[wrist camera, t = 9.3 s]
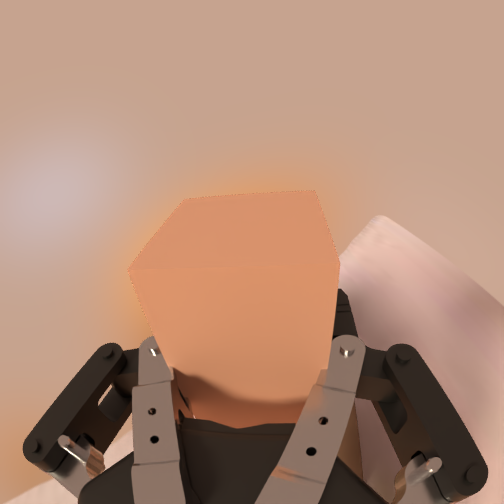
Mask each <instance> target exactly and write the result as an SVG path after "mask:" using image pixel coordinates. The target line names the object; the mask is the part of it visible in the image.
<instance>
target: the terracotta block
mask: <svg viewBox="0 0 504 504" xmlns="http://www.w3.org/2000/svg"><path fill="white" fill-rule="evenodd" d="M339 269H340V261H339V258H338V255H337V252H336V249H335V246H334V244H333V240H332V237H331V234H330V231H329V228H328V225H327V223H326V220H325V217H324V214H323V211H322V209H321V206H320V203H319V200H318V198H317V195H316V192H315V191H292V192H270V193H253V194H238V195H225V196H213V197H201V198H190V199H184V200H183V201H182V203H181V204H180V205H179V206H178V207H177V208H176V209H175V211H174V212H173V213H172V214H171V215H170V217H169V218H168V219H167V220H166V221H165V223H164V224H163V225H162V226H161V227H160V229H159V230H158V231H157V232H156V233H155V235H154V236H153V237H152V238H151V240H150V241H149V242H148V243H147V245H146V246H145V247H144V248H143V250H142V251H141V252H140V254H139V255H138V256H137V257H136V259H135V260H134V261H133V263H132V264H131V265H130V267H129V268H128V273H129V276H130V278H131V281H132V284H133V287H134V289H135V292H136V294H137V297H138V299H139V302H140V304H141V307H142V309H143V312H144V314H145V317H146V319H147V321H148V324H149V326H150V328H151V331H152V333H153V335H154V338H155V340H156V342H157V344H158V346H159V349H160V351H161V353H162V355H163V357H164V359H165V361H166V363H167V365H168V366H171V367H173V369H174V371H175V373H176V375H177V384H178V387H179V389H180V391H181V393H182V395H183V397H187V398H188V399H189V400H190V402H191V406H192V412H193V415H194V416H195V418H196V419H202V420H211V421H214V422H217V423H220V424H223V425H226V426H229V427H233V428H245V427H251V426H256V425H261V424H266V423H296V424H297V422H298V419H299V417H300V415H301V412H302V410H303V408H304V405H305V403H306V400H307V398H308V396H309V393H310V391H311V388H312V386H313V385H314V384H316V382H317V379H318V376H319V374H320V371H321V369H328V363H329V356H330V349H331V342H332V335H333V327H334V319H335V311H336V302H337V292H338V281H339Z"/></svg>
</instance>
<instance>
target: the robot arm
mask: <svg viewBox="0 0 504 504" xmlns="http://www.w3.org/2000/svg"><path fill="white" fill-rule="evenodd" d="M110 384H111V385H112V386H113V387H112V388H111V390H110V391H109V392H108V394H107V395H106V396H105V398H104V399H103V401H102V402H101V403H100V405H99V406H98V401H99V399H100V398H101V396H102V395H103V394H104V392H105V391H106V390H107V388H108V387H109V386H110ZM355 397H356V398H361V399H367V400H371V401H372V403H373V405H374V407H375V409H376V411H377V413H378V415H379V417H380V419H381V422H382V424H383V426H384V428H385V430H386V432H387V434H388V436H389V439H390V441H391V443H392V445H393V447H394V449H395V452H396V454H397V456H398V458H399V461H400V463H401V465H402V467H403V468H402V469H401V470H400V471H399V472H398V473H397V475H396V477H395V482H394V484H395V489H396V494H395V498H394V500H393V502H392V503H391V504H454V503H457V502H459V501H461V500H463V499H465V498H467V497H469V496H471V495H473V494H475V493H477V492H478V491H480V490H481V489H482V488H483V486H484V485H485V483H486V481H487V478H488V467H487V465H486V463H485V461H484V459H483V457H482V455H481V453H480V451H479V449H478V448H477V446H476V444H475V442H474V440H473V439H472V437H471V435H470V433H469V432H468V430H467V428H466V426H465V425H464V423H463V421H462V420H461V418H460V416H459V415H458V413H457V411H456V410H455V408H454V406H453V405H452V403H451V402H450V400H449V398H448V397H447V395H446V394H445V392H444V390H443V389H442V387H441V386H440V384H439V383H438V381H437V380H436V378H435V377H434V375H433V374H432V372H431V371H430V369H429V368H428V366H427V365H426V363H425V362H424V360H423V359H422V357H421V356H420V354H419V353H418V352H417V350H416V349H415V348H413V347H412V346H410V345H407V344H396V345H393V346H391V347H390V348H389V349H388V351H381V350H375V349H371V348H369V347H367V346H365V344H364V343H363V341H362V340H361V339H359V338H358V334H357V330H356V326H355V322H354V319H353V315H352V312H351V307H350V304H349V300H348V296H347V295H346V294H345V293H344V292H343V291H342V289H338V292H337V302H336V311H335V319H334V327H333V335H332V342H331V349H330V356H329V363H328V369H321V371H320V374H319V376H318V379H317V382H316V384H314V385H313V386H312V388H311V391H310V393H309V396H308V398H307V400H306V403H305V405H304V408H303V410H302V412H301V415H300V417H299V419H298V422H297V424H296V423H266V424H261V425H256V426H251V427H245V428H233V427H229V426H226V425H223V424H220V423H217V422H214V421H211V420H202V419H194V416H193V412H192V406H191V402H190V400H189V399H188V398H187V397H183V395H182V393H181V391H180V389H179V387H178V384H177V375H176V373H175V371H174V369H173V367H171V366H168V365H167V363H166V361H165V359H164V357H163V355H162V353H161V351H160V349H159V346H158V344H157V342H156V340H155V338H154V336H151V337H149V338H147V339H146V340H144V341H143V342H142V344H141V345H140V347H139V348H137V349H132V350H126V351H123V350H122V348H121V347H120V346H119V345H118V344H116V343H107V344H105V345H103V346H101V347H100V348H99V349H98V350H97V351H96V352H95V353H94V354H93V355H92V356H91V358H90V359H89V360H88V361H87V362H86V364H85V365H84V366H83V367H82V368H81V369H80V371H79V372H78V373H77V374H76V375H75V377H74V378H73V379H72V380H71V381H70V383H69V384H68V385H67V386H66V388H65V389H64V390H63V391H62V393H61V394H60V395H59V396H58V397H57V399H56V400H55V401H54V403H53V404H52V405H51V406H50V408H49V409H48V410H47V411H46V413H45V414H44V415H43V417H42V418H41V419H40V420H39V422H38V423H37V424H36V426H35V427H34V428H33V430H32V431H31V432H30V434H29V435H28V437H27V438H26V439H25V441H24V444H23V453H24V456H25V458H26V459H27V460H28V461H30V462H31V463H32V464H34V465H35V466H37V467H38V468H40V469H41V470H42V471H44V472H45V473H47V474H48V475H50V476H52V477H53V478H55V479H56V480H57V481H58V482H59V483H60V484H61V485H63V486H64V487H65V488H66V489H67V490H68V491H70V492H71V493H72V494H73V495H74V496H76V497H77V498H78V504H389V503H387V502H386V501H385V500H384V499H383V498H382V497H381V496H380V495H378V494H377V493H376V492H375V491H374V490H373V489H372V488H371V487H370V486H369V485H367V484H366V483H365V482H364V481H363V480H362V479H361V478H360V477H359V476H358V475H357V474H356V473H355V472H354V471H353V470H352V469H351V468H350V467H349V466H348V465H347V464H345V463H344V462H343V461H342V460H341V459H340V458H339V457H338V456H337V454H338V451H339V448H340V445H341V442H342V439H343V436H344V433H345V430H346V427H347V423H348V420H349V417H350V413H351V410H352V406H353V403H354V399H355ZM131 413H132V424H133V447H134V451H133V452H131V453H130V454H128V455H127V456H126V457H124V458H123V459H121V460H120V461H118V462H117V463H116V464H114V465H113V466H111V467H110V468H108V469H107V470H105V465H104V458H103V455H104V453H105V451H106V450H107V448H108V447H109V445H110V444H111V442H112V441H113V439H114V438H115V436H116V435H117V433H118V432H119V430H120V429H121V427H122V426H123V425H124V423H125V421H126V420H127V419H128V417H129V416H130V414H131ZM104 470H105V471H104ZM103 471H104V472H103ZM100 473H101V474H100Z"/></svg>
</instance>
